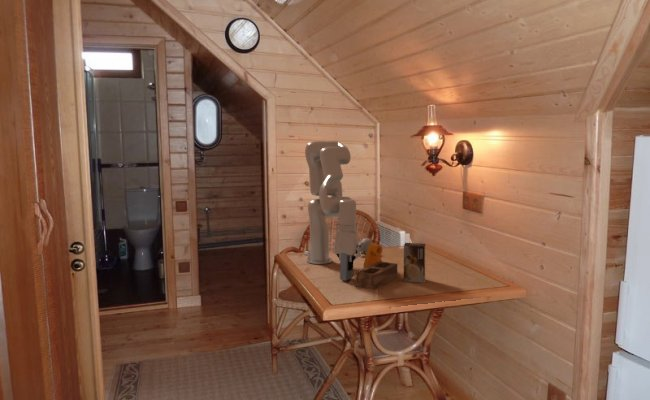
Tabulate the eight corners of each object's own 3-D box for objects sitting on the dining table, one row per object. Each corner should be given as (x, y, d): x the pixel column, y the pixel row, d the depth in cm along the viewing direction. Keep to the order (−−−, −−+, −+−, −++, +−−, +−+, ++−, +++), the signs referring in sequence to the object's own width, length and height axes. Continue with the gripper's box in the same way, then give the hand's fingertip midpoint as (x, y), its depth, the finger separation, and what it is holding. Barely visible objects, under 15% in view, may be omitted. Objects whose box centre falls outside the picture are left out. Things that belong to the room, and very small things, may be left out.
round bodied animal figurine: (351, 255, 266) (351, 239, 265) (365, 251, 274) (366, 236, 273) (361, 257, 261) (361, 241, 260) (376, 253, 269) (376, 238, 268)
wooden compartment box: (356, 286, 212) (356, 272, 211) (379, 273, 230) (379, 261, 229) (375, 289, 207) (375, 275, 206) (397, 276, 225) (397, 263, 225)
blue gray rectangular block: (340, 279, 219) (340, 252, 217) (346, 276, 224) (347, 249, 222) (346, 280, 217) (346, 253, 216) (352, 277, 222) (353, 250, 221)
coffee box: (425, 279, 222) (426, 243, 220) (424, 283, 216) (425, 246, 214) (404, 277, 224) (405, 242, 222) (402, 281, 218) (403, 245, 216)
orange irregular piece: (375, 273, 232) (375, 247, 231) (363, 270, 237) (363, 245, 236) (390, 268, 240) (390, 244, 238) (378, 265, 245) (378, 241, 243)
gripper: (326, 227, 218) (326, 268, 221) (359, 231, 210) (359, 274, 213) (335, 224, 225) (334, 264, 227) (368, 228, 216) (367, 270, 219)
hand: (346, 268), depth 220 cm, fingers closed on blue gray rectangular block, 3 cm apart
